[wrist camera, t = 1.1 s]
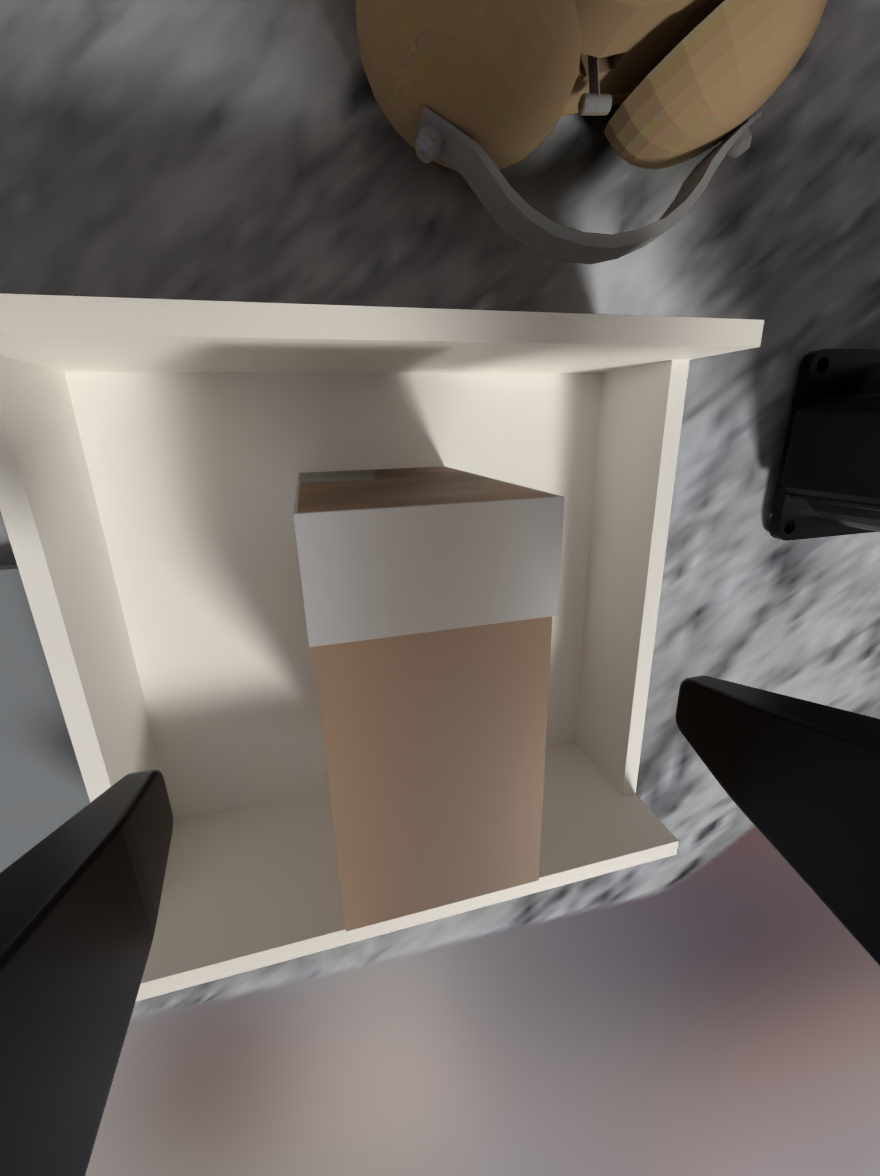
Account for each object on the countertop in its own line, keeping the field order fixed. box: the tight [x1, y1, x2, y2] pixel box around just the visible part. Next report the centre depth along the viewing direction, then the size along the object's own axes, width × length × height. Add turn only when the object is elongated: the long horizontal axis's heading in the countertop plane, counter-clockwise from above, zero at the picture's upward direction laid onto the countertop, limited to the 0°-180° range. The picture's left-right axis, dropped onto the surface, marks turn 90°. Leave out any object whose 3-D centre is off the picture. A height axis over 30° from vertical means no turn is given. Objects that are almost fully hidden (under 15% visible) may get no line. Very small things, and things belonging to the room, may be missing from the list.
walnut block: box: [293, 466, 565, 932], centre depth 12 cm, size 4×8×7 cm, turn 2°
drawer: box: [0, 293, 764, 1001], centre depth 13 cm, size 15×14×6 cm
